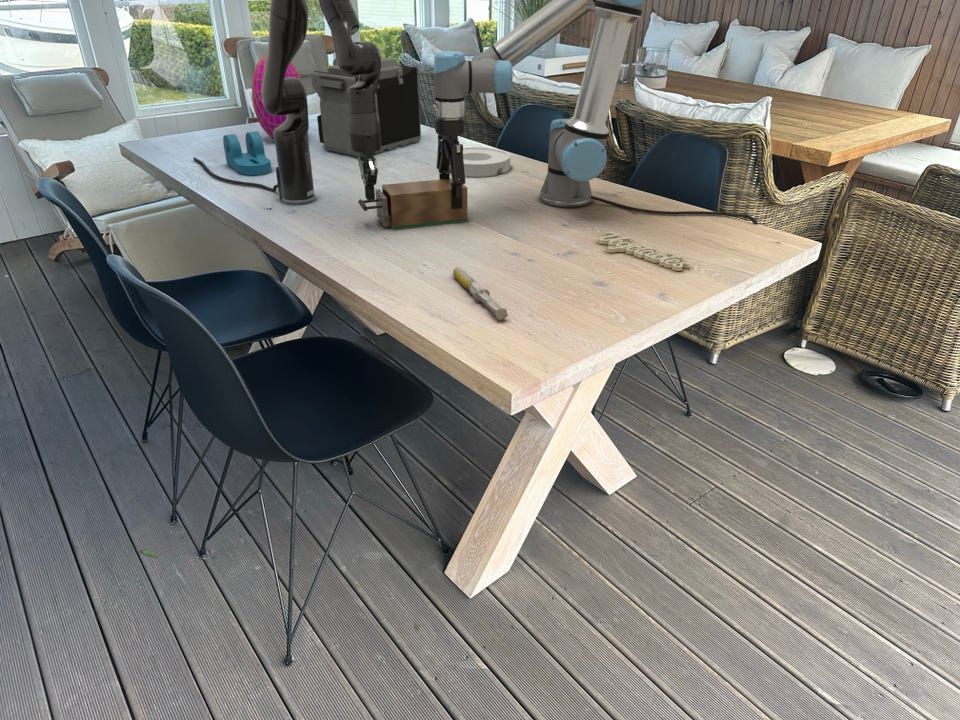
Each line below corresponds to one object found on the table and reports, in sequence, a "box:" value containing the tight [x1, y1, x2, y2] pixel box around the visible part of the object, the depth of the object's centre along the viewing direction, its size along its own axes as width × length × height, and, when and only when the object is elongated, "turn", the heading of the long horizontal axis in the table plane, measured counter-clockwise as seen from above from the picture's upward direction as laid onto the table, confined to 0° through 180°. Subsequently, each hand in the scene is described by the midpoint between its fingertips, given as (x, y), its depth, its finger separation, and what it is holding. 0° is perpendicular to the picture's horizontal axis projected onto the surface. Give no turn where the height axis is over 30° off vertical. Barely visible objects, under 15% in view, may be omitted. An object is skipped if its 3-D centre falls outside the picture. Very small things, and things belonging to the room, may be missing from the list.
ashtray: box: [449, 146, 511, 178], centre depth 232 cm, size 23×23×4 cm
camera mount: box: [222, 131, 272, 176], centre depth 226 cm, size 18×10×10 cm, turn 35°
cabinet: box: [381, 177, 469, 231], centre depth 185 cm, size 21×10×9 cm, turn 110°
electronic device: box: [310, 57, 422, 158], centre depth 250 cm, size 37×22×30 cm, turn 144°
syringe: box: [452, 266, 509, 321], centre depth 145 cm, size 25×4×3 cm, turn 21°
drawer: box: [357, 188, 392, 227], centre depth 183 cm, size 25×8×7 cm, turn 110°
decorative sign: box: [598, 231, 690, 272], centre depth 167 cm, size 26×1×10 cm
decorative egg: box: [251, 55, 303, 140], centre depth 257 cm, size 19×19×30 cm
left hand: (370, 199), depth 179 cm, fingers closed
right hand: (450, 202), depth 187 cm, fingers closed on cabinet, 10 cm apart
